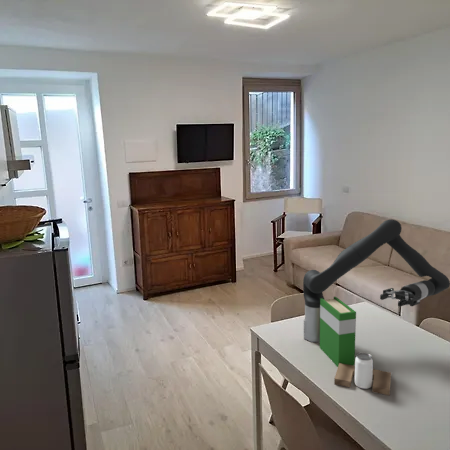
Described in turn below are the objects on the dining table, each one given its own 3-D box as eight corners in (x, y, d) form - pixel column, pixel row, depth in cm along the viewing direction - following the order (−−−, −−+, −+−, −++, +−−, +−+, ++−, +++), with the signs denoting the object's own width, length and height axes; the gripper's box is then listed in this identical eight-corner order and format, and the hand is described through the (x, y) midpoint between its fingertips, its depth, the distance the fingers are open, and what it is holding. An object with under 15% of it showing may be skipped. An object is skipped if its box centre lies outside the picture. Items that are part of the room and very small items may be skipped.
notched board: (334, 384, 159) (334, 378, 158) (339, 368, 169) (339, 362, 169) (389, 395, 150) (389, 389, 150) (390, 378, 161) (391, 372, 161)
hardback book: (319, 347, 187) (320, 298, 182) (334, 345, 188) (335, 296, 183) (338, 367, 170) (339, 314, 165) (354, 365, 171) (356, 312, 166)
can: (373, 390, 154) (374, 361, 152) (355, 388, 155) (356, 360, 153) (370, 380, 160) (372, 352, 158) (353, 379, 162) (354, 351, 159)
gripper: (400, 279, 180) (375, 287, 172) (430, 288, 168) (405, 297, 160) (399, 295, 181) (374, 303, 173) (429, 305, 169) (404, 315, 161)
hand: (389, 300), depth 167 cm, fingers open, 8 cm apart
